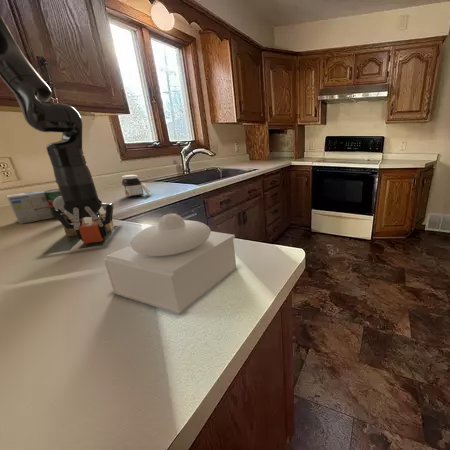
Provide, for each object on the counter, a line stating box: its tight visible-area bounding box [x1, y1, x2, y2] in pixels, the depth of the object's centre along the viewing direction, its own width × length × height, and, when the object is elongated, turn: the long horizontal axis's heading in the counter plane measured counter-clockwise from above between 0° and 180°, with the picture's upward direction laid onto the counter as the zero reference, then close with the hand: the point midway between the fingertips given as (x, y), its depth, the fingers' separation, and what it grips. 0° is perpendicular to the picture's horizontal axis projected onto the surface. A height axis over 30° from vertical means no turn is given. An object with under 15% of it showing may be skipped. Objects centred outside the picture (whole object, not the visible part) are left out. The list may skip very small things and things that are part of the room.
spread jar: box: [121, 174, 152, 199], centre depth 134 cm, size 12×11×12 cm
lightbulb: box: [53, 196, 73, 218], centre depth 91 cm, size 6×6×11 cm
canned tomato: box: [43, 188, 62, 220], centre depth 101 cm, size 8×8×11 cm
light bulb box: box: [6, 189, 55, 225], centre depth 97 cm, size 11×7×11 cm, turn 143°
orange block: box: [79, 221, 104, 244], centre depth 73 cm, size 4×4×5 cm
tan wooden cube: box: [61, 217, 86, 237], centre depth 80 cm, size 4×4×5 cm
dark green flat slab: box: [43, 225, 118, 255], centre depth 77 cm, size 14×20×1 cm
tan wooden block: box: [91, 213, 115, 231], centre depth 82 cm, size 4×4×5 cm
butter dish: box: [103, 213, 237, 315], centre depth 52 cm, size 18×18×16 cm
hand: (94, 238), depth 74 cm, fingers closed on orange block, 4 cm apart
